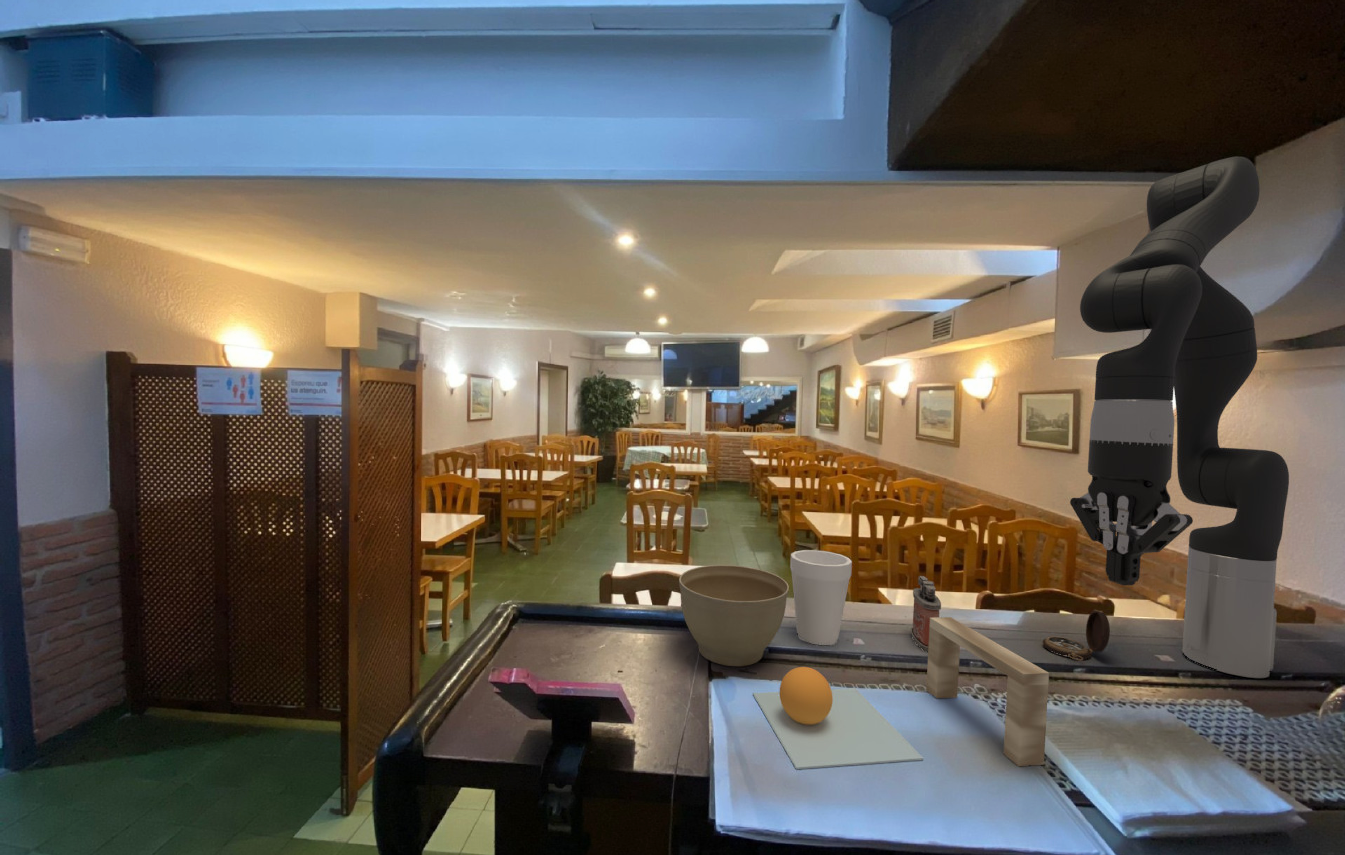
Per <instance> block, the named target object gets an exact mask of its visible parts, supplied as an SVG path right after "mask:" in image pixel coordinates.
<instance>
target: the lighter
mask: <svg viewBox="0 0 1345 855" xmlns="http://www.w3.org/2000/svg"><path fill="white" fill-rule="evenodd" d="M917 583H918V585H919V586H920V588H917V587H916V588H912V595H913V611H912V613H913V615H912V627H911V630H910V635H911V634H912V637H913V639H914V641H915V642H916V644H918V646H920V648H922V649H923V650H924V651H923V652H925V651H928V647H929V627H930V618H936V617H940V610H942V602H941V600H940V598H939V597H938V596H937V595H936V587H935V582H934V581H931V580H929V579H928V578H927V577H926V576H924V575H919V576H918V579H917ZM912 637H911V638H912ZM914 641H913V642H914ZM916 644H915V645H916ZM918 646H917V647H918ZM920 648H919V649H920Z"/></svg>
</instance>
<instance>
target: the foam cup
mask: <svg viewBox="0 0 1345 855" xmlns="http://www.w3.org/2000/svg"><path fill="white" fill-rule="evenodd" d="M852 564H853V561H852V559H850V558H849V557H847V556H845V555H843V554H840V553H835V552H831V551H826V550H817V549H816V550H815V549H814V550H812V549H811V550H810V549H803V550H798V551H797V550H795V551H794V552H791V553H790V565H789V566H790V567H789V568H790V571H791V578H792V579H791V580H792V590H793V602H794V614H795V615H794V616H795V627H796V634H797V633H798V635H797V638H798V637H800V638H801V639H803V640H804V641H808V642H810V643H814V644H819V645H821V644H822V645H823V644H825V645H826V644H833V643H835V642H836V641H837V639H838V640H839V637H840V631H841V626H842V620H843V616H844V609H845V605H846V604H845V603H846V599H847V592H848V587H849V582H850V578H851V577H852V567H853V566H852ZM801 639H800V640H801ZM804 641H803V642H804ZM837 642H838V641H837ZM837 642H836V643H837Z"/></svg>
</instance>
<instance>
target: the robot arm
mask: <svg viewBox="0 0 1345 855" xmlns="http://www.w3.org/2000/svg"><path fill="white" fill-rule="evenodd" d="M1256 168H1257V167H1256V166H1255V164H1254V163H1253V162H1252V161H1251V160H1250V159H1248V158H1247V157H1244V156H1232V157H1231V156H1230V157H1226V158H1222V159H1219V160H1215V161H1211V162H1209V163H1207V164H1204V165H1200V166H1198V167H1194V168H1191V169H1188V170H1185V171H1182V172H1178V173H1176V174H1175V173H1174V174H1173V175H1169V176H1166V177H1164V178H1161V179H1159V180H1157V181H1155V182H1154V183H1153V184H1152V185H1151V186H1150V188H1149V190H1148V192H1147V196H1146V197H1147V198H1146V213H1147V221H1148V226H1149V232H1148V233H1147V234H1146V235H1145V236H1144V237H1143V238H1142V239H1141V240H1140V241H1139V242H1138V243H1137V245H1136V247H1134V249H1133V251H1132V252H1131V253H1130V254H1129V256H1127V257H1125V258H1123V259H1121V260H1119V261H1118V262H1116V263H1114V264H1112V265H1111V266H1110V267H1108V268H1106V269H1105V270H1103V271H1102V272H1100V273H1099V274H1098V275H1097V276H1096V277H1094V279H1092V280H1091V281H1090V283H1089V284H1088V285H1087V286H1086V288H1085V290H1084V292H1083V294H1082V296H1081V300H1080V304H1079V310H1080V316H1081V318H1082V321H1083V322H1084V324H1085V325H1086V326H1087V327H1089V328H1090V329H1091V330H1093V331H1096V332H1098V333H1109V334H1110V333H1112V334H1113V333H1122V332H1132V331H1142V330H1145V331H1146V330H1151V331H1150V332H1148V335H1147V336H1146V337H1145V339H1143V340H1142V341H1141V342H1140V343H1138V344H1137V345H1134V346H1131V347H1128V348H1124V349H1120V350H1115V351H1111V352H1107V353H1106V354H1103V355H1102V356H1100V357H1099V359H1098V360H1097V362H1096V368H1095V383H1094V384H1095V386H1094V402H1093V408H1092V412H1091V416H1090V417H1091V418H1090V422H1089V423H1090V425H1089V442H1088V460H1087V472H1088V474H1089V475H1090V476H1091V477H1092V478H1091V482H1090V483H1089V485H1088V487H1087V493H1085V494H1083V495H1082V496H1080V497H1072V498H1071V499H1070V500H1069V501H1070V502H1069V504H1070V506H1071V507H1072V509H1073V511H1074V513H1075V514H1076V516H1077V518H1078V520H1079V521H1080V523H1081V525H1082V526H1083V528H1084V530H1085V531H1086V533H1087V535H1088V536H1089V538H1090V540H1091V541H1092V542H1098V543H1099V544H1102V545H1103V548H1104V549H1105V550H1106V558H1105V559H1106V560H1105V573H1106V576H1108V581H1109V582H1112V583H1115V584H1118V585H1121V586H1134V585H1135V584H1136V582H1138V581H1139V579H1140V575H1141V574H1140V569H1141V558H1142V555H1144V554H1153V553H1159V552H1161V551H1162V550H1163V549H1164V548H1166V547H1167V546H1168V545H1169V544H1170V543H1171V542H1172V541H1173V540H1175V539H1176V538H1177V537H1178V536H1179V535H1181V534H1182V533H1183V532H1184V531H1185V530H1186V529H1187V528H1189V527H1190V526H1191V525H1192V524H1193V521H1194V520H1193V517H1192V516H1191V515H1190V514H1188V513H1186V514H1185V513H1184V514H1183V513H1180V512H1179V511H1178V510H1177V509H1176V508H1175V507H1174V506H1172V505H1171V504H1170V503H1171V496H1170V494H1169V491H1168V489H1167V488H1168V487H1167V484H1168V483H1169V481H1170V480H1171V479H1172V471H1173V470H1172V469H1173V455H1174V453H1173V452H1174V438H1175V437H1174V435H1175V414H1174V405H1173V401H1174V400H1175V401H1174V402H1175V408H1176V409H1175V410H1176V463H1177V464H1176V469H1177V472H1176V473H1177V480H1178V484H1179V487H1180V490H1181V492H1182V494H1183V496H1184V497H1185V498H1186V499H1187V500H1188V501H1190V502H1192V503H1196V504H1198V505H1206V506H1212V507H1213V506H1214V507H1217V508H1218V507H1219V508H1225V509H1227V508H1228V509H1233V510H1234V509H1235V510H1236V512H1235V516H1234V518H1233V520H1231V521H1230V522H1228V523H1226V524H1225V523H1224V524H1222V525H1217V526H1208V527H1198V528H1193V529H1192V530H1191V531H1190V532H1189V538H1188V552H1187V569H1186V570H1187V571H1186V583H1185V584H1186V586H1185V601H1184V616H1183V617H1184V618H1183V619H1184V620H1183V621H1184V622H1183V636H1182V651H1183V652H1184V653H1185V654H1186V655H1188V656H1189V657H1190V658H1192V659H1193V660H1196V661H1197V662H1199V663H1201V664H1203V665H1206V666H1209V667H1212V668H1214V669H1217V670H1216V671H1217V672H1218V671H1219V672H1221V673H1225V674H1229V675H1235V676H1239V677H1245V678H1253V679H1265V678H1269V677H1270V672H1269V671H1270V669H1273V670H1274V658H1275V644H1276V630H1277V614H1278V612H1277V609H1276V608H1275V594H1276V593H1275V591H1276V576H1277V562H1278V561H1277V559H1278V550H1279V546H1280V544H1281V540H1282V536H1283V529H1284V521H1285V520H1284V519H1285V514H1286V513H1285V512H1286V506H1287V499H1288V494H1289V485H1290V473H1289V468H1288V464H1287V463H1286V460H1285V459H1284V458H1283V456H1282V455H1281V454H1279V453H1278V452H1275V451H1272V450H1264V449H1254V448H1253V449H1252V448H1235V447H1234V448H1233V447H1220V445H1219V437H1218V435H1219V423H1220V419H1221V417H1222V415H1223V412H1224V410H1225V409H1226V407H1228V404H1229V403H1230V401H1231V400H1232V399H1233V397H1235V395H1236V393H1238V391H1239V390H1240V389H1241V388H1242V386H1243V385H1244V383H1246V380H1247V379H1248V378H1249V376H1250V375H1251V374H1252V372H1253V371H1254V369H1255V367H1256V364H1257V361H1258V346H1257V337H1256V336H1257V335H1256V328H1255V320H1254V315H1253V314H1252V312H1251V311H1250V310H1249V308H1248V307H1247V306H1246V305H1245V304H1244V303H1243V302H1242V301H1241V300H1240V299H1238V297H1236V296H1235V295H1234V294H1233V293H1232V292H1230V291H1228V289H1226V288H1225V287H1223V285H1221V284H1219V282H1217V281H1216V280H1215V279H1213V278H1212V277H1211V276H1210V275H1209V274H1208V273H1207V271H1205V270H1204V269H1203V268H1202V267H1201V265H1203V262H1204V260H1205V258H1206V257H1207V256H1208V255H1209V253H1210V252H1211V251H1212V250H1213V249H1214V248H1216V246H1217V245H1218V244H1219V243H1221V242H1222V241H1223V240H1224V239H1225V238H1227V237H1228V236H1229V234H1231V233H1232V232H1233V231H1235V229H1237V228H1238V227H1239V226H1241V225H1242V223H1244V222H1245V221H1246V220H1247V219H1249V218H1250V216H1251V215H1252V214H1253V212H1254V211H1255V209H1256V207H1257V205H1258V202H1259V198H1260V179H1259V175H1258V171H1257V169H1256ZM1153 521H1154V524H1153ZM1182 651H1181V652H1182ZM1203 665H1202V666H1203ZM1214 669H1213V670H1214Z"/></svg>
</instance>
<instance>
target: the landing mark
mask: <svg viewBox="0 0 1345 855" xmlns="http://www.w3.org/2000/svg"><path fill="white" fill-rule="evenodd" d="M831 691H832V697H833V701H832V707H831V710H830V712H829V714H828V715H827V717H826V718H825V719H824V720H822V721H821V722H819V723H817V724H813V725H806V724H801V723H799V722H797V721H795V720H793V719H792V718H791V717H790V716H789V715H788V714H787V713H786V712H785V710H784V708H783V706H782V704H781V700H780V691H776V692H775V691H773V692H772V691H770V692H769V691H768V692H755V693H752V696H753V695H754V696H753V697H755V698H754V699H755V701H756V700H757V701H756V703H757V702H758V703H757V704H758V707H760V710H761V709H762V710H761V711H762V713H763V715H764V716H765V718H766V720H767V722H768V723H769V725H770V727H771V728H772V730H773V732H774V733H775V736H776V737H777V739H778V740H779V742H780V744H781V745H782V748H783V749H784V751H785V753H786V754H787V756H788V758H789V759H790V761H791V762H792V765H793V766H794V769H795V770H805V769H806V770H807V769H809V770H810V769H820V768H832V767H846V766H847V767H848V766H860V765H862V766H863V765H873V764H874V765H875V764H889V763H900V762H901V763H902V762H915V761H924V757H923V756H922V755H921V754H920V753H919V752H918V751H917V750H916V749H915V748H914V747H913V745H912V744H910V743H909V742H908V741H907V739H905V738H904V737H903V735H902V734H900V733H899V731H898V730H897V729H896V728H895V727H894V726H893V725H892V724H891V723H890V722H889V721H888V720H887V719H886V718H885V717H884V716H883V715H882V714H881V713H880V711H879V710H878V709H876V708H875V707H874V705H873V704H872V703H870V701H869V700H867V698H866V697H865V696H864V695H863V694H862V693H861V692H860V691H859V690H858V689H857V688H856V687H855V688H853V687H852V688H851V687H850V688H836V689H835V688H834V689H833V688H831ZM778 695H779V696H778Z"/></svg>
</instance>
